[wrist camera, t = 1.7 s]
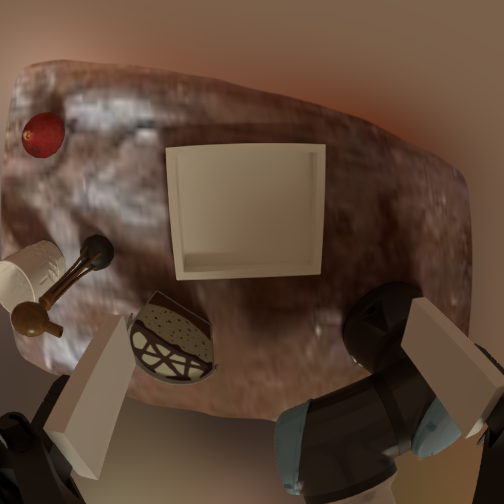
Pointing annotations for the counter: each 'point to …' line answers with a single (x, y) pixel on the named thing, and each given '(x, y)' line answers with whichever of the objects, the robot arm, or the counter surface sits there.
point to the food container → (171, 342)
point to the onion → (43, 135)
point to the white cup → (29, 273)
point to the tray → (246, 209)
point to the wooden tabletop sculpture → (61, 289)
